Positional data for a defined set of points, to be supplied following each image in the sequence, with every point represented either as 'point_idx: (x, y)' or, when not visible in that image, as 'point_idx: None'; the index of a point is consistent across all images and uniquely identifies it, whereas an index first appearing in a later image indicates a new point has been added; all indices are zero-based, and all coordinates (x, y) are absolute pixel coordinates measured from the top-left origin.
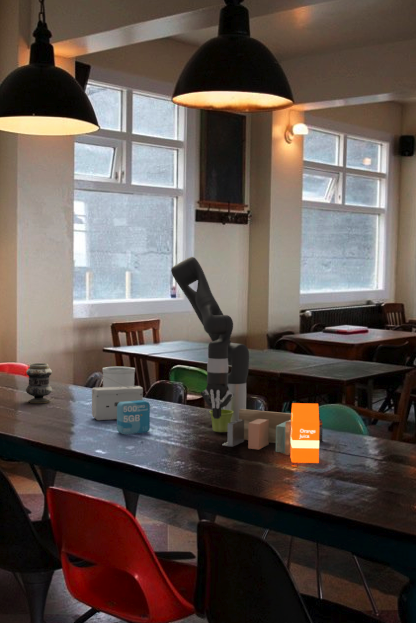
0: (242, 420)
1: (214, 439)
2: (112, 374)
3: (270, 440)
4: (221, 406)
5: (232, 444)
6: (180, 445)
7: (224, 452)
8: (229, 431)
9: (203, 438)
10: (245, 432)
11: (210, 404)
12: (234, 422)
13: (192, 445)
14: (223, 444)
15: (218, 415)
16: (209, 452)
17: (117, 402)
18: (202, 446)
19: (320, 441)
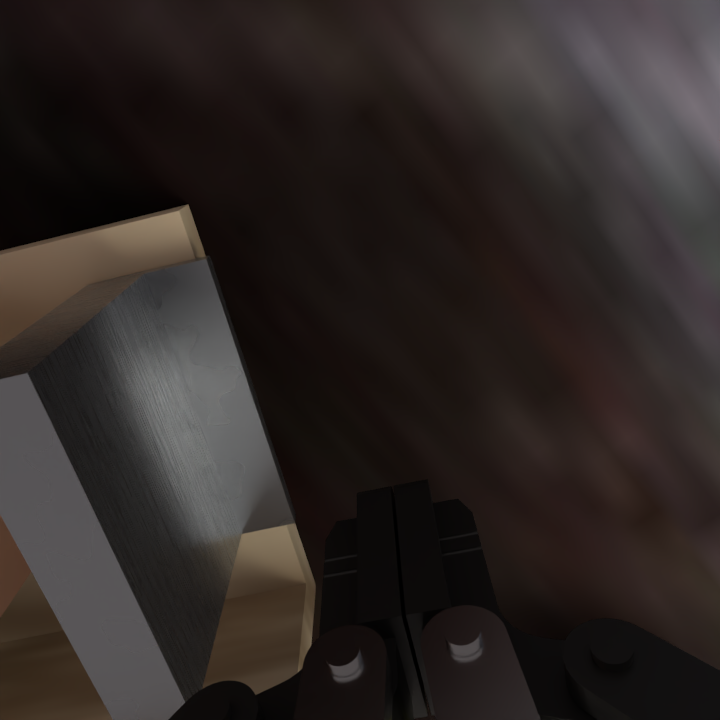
0: (97, 687)
1: (558, 522)
2: None
3: (1, 656)
4: (238, 695)
5: (79, 291)
6: (710, 78)
7: (90, 139)
8: (52, 334)
9: (669, 493)
10: (230, 651)
11: (569, 663)
12: (38, 516)
13: (589, 177)
14: (192, 262)
15: (346, 540)
16: (207, 13)
17: None
18: (469, 213)
19: None
